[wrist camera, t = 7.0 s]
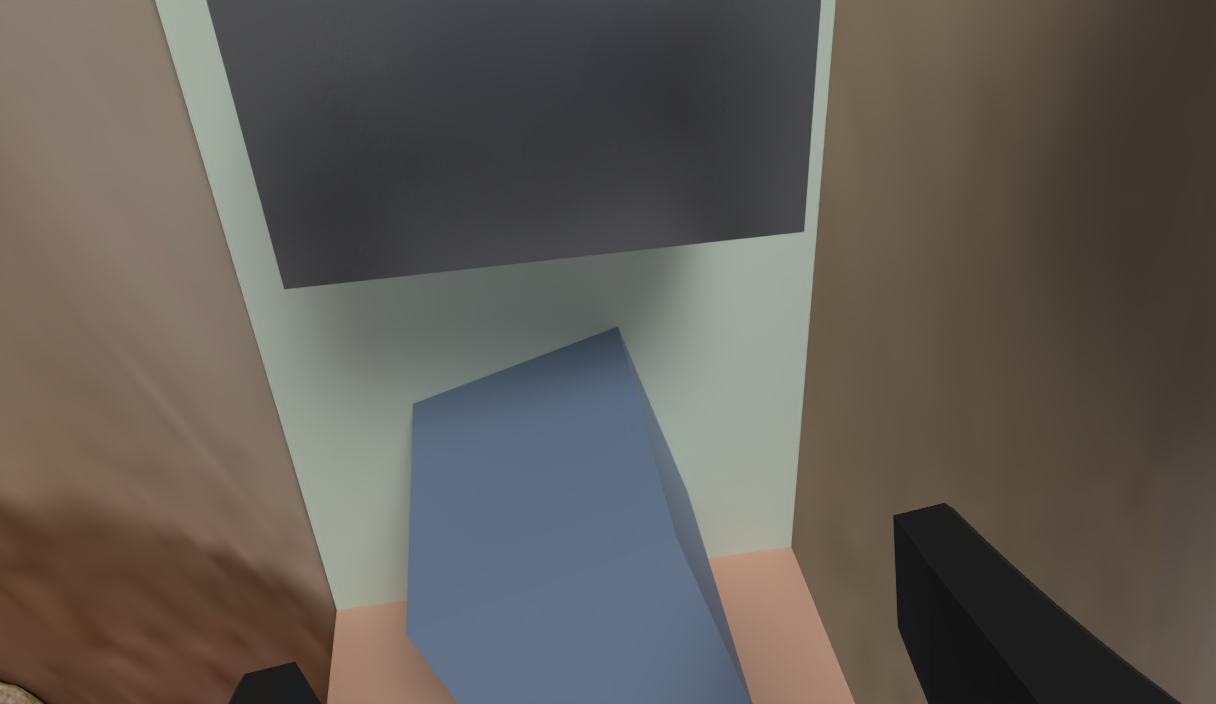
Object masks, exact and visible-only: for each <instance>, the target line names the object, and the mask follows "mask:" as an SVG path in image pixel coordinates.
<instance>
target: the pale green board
mask: <svg viewBox="0 0 1216 704" xmlns="http://www.w3.org/2000/svg"><path fill="white" fill-rule="evenodd" d="M155 1H156V5H157V8H158V11H159V15H160V18H161V21H162V25H163V28H164V31H165V35H166V38H167V42H168V45H169V48H170V52H171V55H172V58H173V62H174V65H175V68H176V72H177V75H178V78H179V82H180V85H181V89H182V92H183V95H184V99H185V102H186V105H187V109H188V112H189V115H190V119H191V122H192V125H193V129H194V132H195V136H196V139H197V142H198V146H199V149H200V152H201V156H202V159H203V162H204V166H205V169H206V172H207V176H208V179H209V182H210V186H211V189H212V193H213V196H214V199H215V203H216V206H217V209H218V213H219V216H220V219H221V223H222V226H223V229H224V233H225V236H226V240H227V243H228V246H229V250H230V253H231V256H232V260H233V263H234V266H235V270H236V273H237V276H238V280H239V283H240V286H241V290H242V293H243V297H244V300H245V303H246V307H247V310H248V313H249V317H250V320H251V323H252V327H253V330H254V333H255V337H256V340H257V344H258V347H259V350H260V354H261V357H262V360H263V364H264V367H265V370H266V374H267V377H268V380H269V384H270V387H271V391H272V394H273V397H274V401H275V404H276V407H277V411H278V414H279V417H280V421H281V424H282V427H283V431H284V434H285V437H286V441H287V444H288V448H289V451H290V454H291V458H292V461H293V464H294V468H295V471H296V474H297V478H298V481H299V484H300V488H301V491H302V495H303V498H304V501H305V505H306V508H307V511H308V515H309V518H310V521H311V525H312V528H313V531H314V535H315V538H316V542H317V545H318V548H319V552H320V555H321V558H322V562H323V565H324V568H325V572H326V575H327V578H328V582H329V585H330V588H331V592H332V595H333V599H334V602H335V605H336V609H337V614H336V624H335V633H334V643H333V652H332V662H331V671H330V681H329V690H328V700H327V704H458V703H457V702H456V700H455V699H454V698H453V696H452V695H451V694H450V692H449V691H448V690H447V688H446V687H445V686H444V684H443V683H442V682H441V680H440V679H439V678H438V676H437V675H436V674H435V672H434V671H433V670H432V668H431V667H430V666H429V664H428V663H427V662H426V660H425V659H424V658H423V656H422V655H421V654H420V652H419V651H418V650H417V648H416V647H415V646H414V644H413V643H412V642H411V640H410V639H409V638H408V636H407V635H406V617H407V584H408V552H409V519H410V487H411V455H412V422H413V404H414V403H416V402H419V401H422V400H424V399H427V398H430V397H432V396H435V395H438V394H440V393H443V392H446V391H448V390H451V389H453V388H456V387H459V386H461V385H464V384H467V383H469V382H472V381H475V380H477V379H480V378H483V377H485V376H488V375H491V374H493V373H496V372H499V371H501V370H504V369H507V368H509V367H512V366H515V365H517V364H520V363H523V362H525V361H528V360H531V359H533V358H536V357H539V356H541V355H544V354H546V353H549V352H552V351H554V350H557V349H560V348H562V347H565V346H568V345H570V344H573V343H576V342H578V341H581V340H584V339H586V338H589V337H592V336H594V335H597V334H600V333H602V332H605V331H608V330H610V329H613V328H616V327H618V328H619V331H620V333H621V335H622V338H623V340H624V342H625V345H626V347H627V350H628V352H629V354H630V357H631V359H632V361H633V364H634V366H635V369H636V371H637V373H638V376H639V378H640V380H641V383H642V385H643V388H644V390H645V392H646V395H647V397H648V399H649V402H650V404H651V407H652V409H653V411H654V414H655V416H656V418H657V421H658V423H659V425H660V428H661V430H662V433H663V435H664V437H665V440H666V442H667V444H668V447H669V449H670V452H671V454H672V456H673V459H674V461H675V463H676V466H677V468H678V471H679V473H680V475H681V478H682V480H683V482H684V485H685V487H686V490H687V492H688V495H689V498H690V501H691V505H692V508H693V511H694V514H695V518H696V521H697V524H698V527H699V531H700V534H701V537H702V540H703V544H704V547H705V550H706V553H707V557H708V560H709V563H710V566H711V570H712V573H713V576H714V579H715V583H716V586H717V589H718V592H719V596H720V599H721V602H722V605H723V609H724V612H725V615H726V618H727V622H728V625H729V628H730V631H731V635H732V638H733V641H734V644H735V648H736V651H737V654H738V657H739V661H740V664H741V667H742V670H743V674H744V677H745V680H746V683H747V687H748V690H749V693H750V696H751V700H752V703H753V704H855V703H854V700H853V698H852V695H851V693H850V690H849V688H848V686H847V683H846V681H845V678H844V676H843V673H842V671H841V668H840V666H839V663H838V661H837V658H836V656H835V654H834V651H833V649H832V646H831V644H830V641H829V639H828V636H827V634H826V631H825V629H824V626H823V624H822V622H821V619H820V617H819V614H818V612H817V609H816V607H815V604H814V602H813V599H812V597H811V595H810V592H809V590H808V587H807V585H806V582H805V580H804V577H803V575H802V572H801V570H800V567H799V565H798V563H797V560H796V558H795V555H794V553H793V550H792V548H791V541H792V528H793V516H794V504H795V491H796V479H797V467H798V455H799V442H800V430H801V418H802V406H803V393H804V381H805V369H806V357H807V344H808V332H809V320H810V307H811V295H812V283H813V271H814V258H815V246H816V234H817V222H818V209H819V197H820V185H821V173H822V160H823V148H824V136H825V124H826V111H827V99H828V87H829V74H830V62H831V50H832V38H833V25H834V13H835V1H836V0H821V9H820V23H819V37H818V50H817V64H816V77H815V91H814V105H813V118H812V132H811V145H810V159H809V173H808V186H807V200H806V213H805V227H804V232H799V233H790V234H781V235H772V236H763V237H754V238H745V239H736V240H727V241H718V242H709V243H700V244H691V245H682V246H673V247H664V248H655V249H646V250H637V251H628V252H619V253H610V254H601V255H592V256H583V257H574V258H564V259H555V260H546V261H537V262H528V263H519V264H510V265H501V266H492V267H483V268H474V269H465V270H456V271H447V272H438V273H429V274H420V275H411V276H402V277H393V278H384V279H375V280H366V281H357V282H348V283H339V284H330V285H321V286H312V287H302V288H293V289H284V287H283V283H282V279H281V276H280V272H279V268H278V265H277V261H276V257H275V253H274V250H273V246H272V242H271V239H270V235H269V231H268V227H267V224H266V220H265V216H264V213H263V209H262V205H261V201H260V198H259V194H258V190H257V187H256V183H255V179H254V176H253V172H252V168H251V164H250V161H249V157H248V153H247V150H246V146H245V142H244V138H243V135H242V131H241V127H240V124H239V120H238V116H237V112H236V109H235V105H234V101H233V98H232V94H231V90H230V86H229V83H228V79H227V75H226V72H225V68H224V64H223V60H222V57H221V53H220V49H219V46H218V42H217V38H216V35H215V31H214V27H213V23H212V20H211V16H210V12H209V9H208V5H207V1H206V0H155Z"/></svg>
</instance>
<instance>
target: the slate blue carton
mask: <svg viewBox="0 0 1216 704" xmlns="http://www.w3.org/2000/svg"><path fill="white" fill-rule="evenodd" d="M406 635H407V636H408V638H409V639H410V640H411V642H412V643H413V644H414V646H415V647H416V648H417V650H418V651H419V652H420V654H421V655H422V656H423V658H424V659H425V660H426V662H427V663H428V664H429V666H430V667H431V668H432V670H433V671H434V672H435V674H436V675H437V676H438V678H439V679H440V680H441V682H442V683H443V684H444V686H445V687H446V688H447V690H448V691H449V692H450V694H451V695H452V696H453V698H454V699H455V700H456V702H457V703H458V704H753V703H752V700H751V696H750V693H749V690H748V687H747V683H746V680H745V677H744V674H743V670H742V667H741V664H740V661H739V657H738V654H737V651H736V648H735V644H734V641H733V638H732V635H731V631H730V628H729V625H728V622H727V618H726V615H725V612H724V609H723V605H722V602H721V599H720V596H719V592H718V589H717V586H716V583H715V579H714V576H713V573H712V570H711V566H710V563H709V560H708V557H707V553H706V550H705V547H704V544H703V540H702V537H701V534H700V531H699V527H698V524H697V521H696V518H695V514H694V511H693V508H692V505H691V501H690V498H689V495H688V492H687V490H686V487H685V485H684V482H683V480H682V478H681V475H680V473H679V471H678V468H677V466H676V463H675V461H674V459H673V456H672V454H671V452H670V449H669V447H668V444H667V442H666V440H665V437H664V435H663V433H662V430H661V428H660V425H659V423H658V421H657V418H656V416H655V414H654V411H653V409H652V407H651V404H650V402H649V399H648V397H647V395H646V392H645V390H644V388H643V385H642V383H641V380H640V378H639V376H638V373H637V371H636V369H635V366H634V364H633V361H632V359H631V357H630V354H629V352H628V350H627V347H626V345H625V342H624V340H623V338H622V335H621V333H620V331H619V328H618V327H616V328H613V329H610V330H608V331H605V332H602V333H600V334H597V335H594V336H592V337H589V338H586V339H584V340H581V341H578V342H576V343H573V344H570V345H568V346H565V347H562V348H560V349H557V350H554V351H552V352H549V353H546V354H544V355H541V356H539V357H536V358H533V359H531V360H528V361H525V362H523V363H520V364H517V365H515V366H512V367H509V368H507V369H504V370H501V371H499V372H496V373H493V374H491V375H488V376H485V377H483V378H480V379H477V380H475V381H472V382H469V383H467V384H464V385H461V386H459V387H456V388H453V389H451V390H448V391H446V392H443V393H440V394H438V395H435V396H432V397H430V398H427V399H424V400H422V401H419V402H416V403H414V404H413V422H412V455H411V487H410V519H409V552H408V584H407V617H406Z"/></svg>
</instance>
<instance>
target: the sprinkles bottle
mask: <svg viewBox="0 0 1216 704" xmlns="http://www.w3.org/2000/svg"><path fill="white" fill-rule="evenodd" d="M0 704H44V703H43V702H41V701H40V700H39V699H37V698H36V697H34V696H33V695H31V694H29V693H28V692H26V691H25V690H23V689H21V688H20V687H18V686H16V685H10V684H5V683H3V682H0Z"/></svg>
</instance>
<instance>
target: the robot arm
mask: <svg viewBox="0 0 1216 704" xmlns="http://www.w3.org/2000/svg"><path fill="white" fill-rule="evenodd" d="M893 519H894V544H895V568H896V593H897V617H898V628H899V631H900V634H901V636H902V639H903V641H904V644H905V646H906V649H907V652H908V654H909V657H910V659H911V662H912V664H913V667H914V669H915V672H916V674H917V677H918V679H919V682H920V684H921V687H922V689H923V692H924V694H925V696H926V699H927V701H928V704H1181V703H1180V702H1179V701H1177V700H1176V699H1175V698H1173V697H1172V696H1171V695H1169V694H1168V693H1167V692H1166V691H1164V690H1163V689H1162V688H1160V687H1159V686H1158V685H1156V684H1155V683H1154V682H1152V681H1151V680H1150V679H1148V678H1147V677H1146V676H1144V675H1143V674H1142V673H1140V672H1139V671H1138V670H1136V669H1135V668H1134V667H1133V666H1131V665H1130V664H1129V663H1128V662H1126V661H1125V660H1124V659H1123V658H1121V657H1120V656H1119V655H1117V654H1116V653H1115V652H1114V651H1112V650H1111V649H1110V648H1109V647H1107V646H1106V645H1105V644H1104V643H1103V642H1101V641H1100V640H1099V639H1098V638H1097V637H1095V636H1094V635H1093V634H1092V633H1091V632H1089V631H1088V630H1087V629H1086V628H1085V627H1083V626H1082V625H1081V624H1080V623H1079V622H1077V621H1076V620H1075V619H1074V618H1073V617H1071V616H1070V615H1069V614H1068V613H1067V612H1065V611H1064V610H1063V609H1062V608H1061V607H1059V606H1058V605H1057V604H1056V603H1055V602H1054V601H1052V600H1051V599H1050V598H1049V597H1048V596H1047V595H1046V594H1044V593H1043V592H1042V591H1041V590H1040V589H1039V588H1038V587H1036V586H1035V585H1034V584H1033V583H1032V582H1031V581H1030V580H1029V579H1028V578H1026V577H1025V576H1024V575H1023V574H1022V573H1021V572H1020V571H1019V570H1018V569H1016V568H1015V567H1014V566H1013V565H1012V564H1011V563H1010V562H1009V561H1008V560H1007V559H1005V558H1004V557H1003V556H1002V555H1001V554H1000V553H999V552H998V551H997V550H996V549H995V548H994V547H993V546H992V545H990V544H989V543H988V542H987V541H986V540H985V539H984V538H983V537H982V536H981V535H980V534H979V533H978V532H977V531H976V530H975V529H974V528H973V527H972V526H971V525H970V524H969V523H968V522H967V521H966V520H965V519H964V518H962V517H961V516H960V515H959V514H958V513H957V512H956V511H955V510H954V509H953V508H952V507H950V506H948V505H947V504H945V503H942V504H938V505H934V506H930V507H926V508H922V509H918V510H914V511H909V512H905V513H901V514H897V515H893ZM229 704H321V703H320V701H319V700H318V698H317V696H316V695H315V693H314V691H313V690H312V688H311V687H310V685H309V683H308V682H307V680H306V678H305V677H304V675H303V673H302V672H301V670H300V669H299V667H298V665H297V664H296V662H292V663H288V664H284V665H280V666H276V667H272V668H267V669H263V670H259V671H255V672H251V673H247V674H245V675H244V676H243V678H242V679H241V681H240V682H239V684H238V686H237V688H236V690H235V692H234V694H233V696H232V698H231V700H230V702H229Z"/></svg>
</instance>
